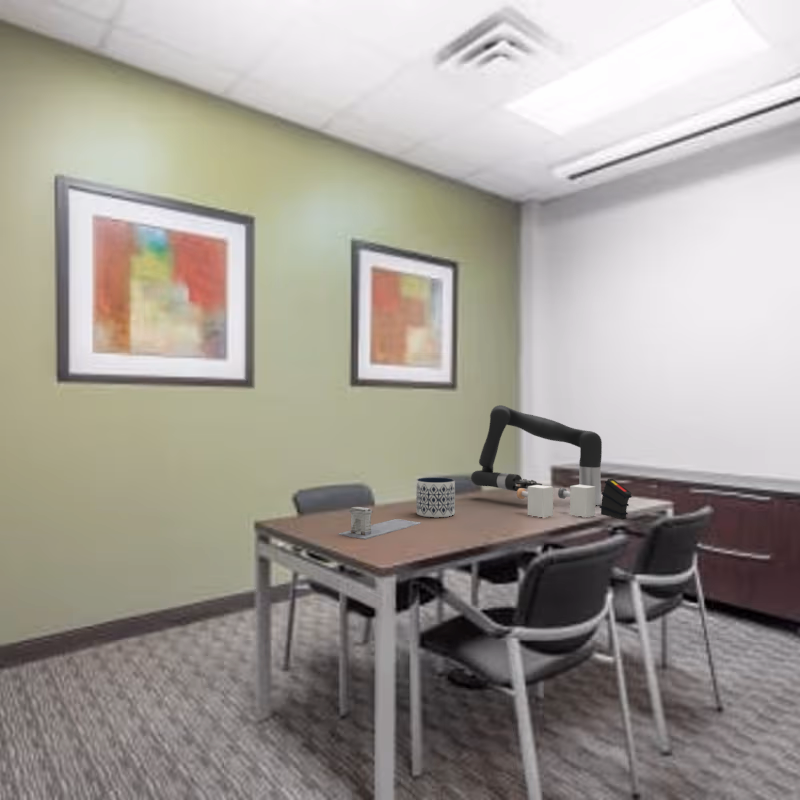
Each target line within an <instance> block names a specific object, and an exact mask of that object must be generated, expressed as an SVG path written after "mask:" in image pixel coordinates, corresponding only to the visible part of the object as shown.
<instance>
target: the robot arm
mask: <svg viewBox="0 0 800 800" xmlns="http://www.w3.org/2000/svg"><path fill="white" fill-rule="evenodd" d="M507 426H511V427H516V428H518V429H521V431H522V430H523V431H525V432H526V433H528V434H531V435H533V436H535V437H539V438H541V439H545V440H548V441H555V442H562V443H566V444H571V445H572V446H575V447H578V448H580V450H579V451H580V455H579V457H580V458H579V467H578V468H579V469H578V470H579V473H578V474H579V481H578V482H579V484H578V485H587V486H595V507H596V505H597V506H600V505H601V503H602V494H601V493H602V483H601V479H602V478H601V475H602V474H601V471H602V470H601V465H602V464H601V463H602V457H603V456H602V453H603V451H602V448H603V447H602V446H603V445H602V444H603V442H602V437H601V436H600V435H599V434H598V433H597V432H595V431H592V430H583V429H579V428H574V427H570V426H568V425H565V424H563V423H560V422H559V421H555V420H552V419H550V418H546V417H541V416H538V415H534V414H529V413H525V412H524V413H523V412H521V411H519V410H518V411H517V410H516V409H512V408H510V407H508V406H506V405H496V406H494V407H493V408H492V409H491V412H490V415H489V426H488V432H487V436H486V439H485V442H484V444H483V446H482V449H481V452H480V456H479V460H478V464H479V466H481V468H482V469H481V470H475V471H473V472H472V473H471V475H470V479H471V480H470V481H471V483H472V484H474V485H475V486H480V487H490V488H491V487H492V488H498V489H502V490H507V491H512V492H517V490H518V489H519V488H523V489H525V490H526V489H527V490H528V486H533V485H543V483H539V482H537V481H536V480H533V479H531V480H530V479H526V478H522V477H521V475H520V474H516V473H506V472H505V473H504V472H498V471H497V472H494V464H495V460H496V457H497V453H498V451H499V445H500V441H501V438H502V436H503V433H504V431H505V429H506V427H507Z"/></svg>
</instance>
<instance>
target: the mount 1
mask: <svg viewBox="0 0 800 800" xmlns="http://www.w3.org/2000/svg"><path fill="white" fill-rule="evenodd" d="M527 492H528V497H527V516H528V515H532V516H531V517H533V516H538V517H537V518H539V517H547V518H549V517H548V516H551V517H554V486H550V485H543V484H542V485H533V486H528V489H527Z"/></svg>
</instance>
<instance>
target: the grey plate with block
mask: <svg viewBox="0 0 800 800" xmlns="http://www.w3.org/2000/svg"><path fill="white" fill-rule="evenodd" d="M348 512H350V530H347V531H344V532H340V533H338V536H344V537H349V538H353V539H354V538H356V539H360V540H369V539H373V538H376V537H379V536H383V535H386V534H389V533H393V532H397V531H400V530H404V529H407V528H411V526H412V527H414V525H415V526H419V525H421V523H422V522H419V521H413V520H406V519H401V518H394V519H390V520H386V521H382V522H378V523H373V524H372V513H373V510H372V509H371V508H368V507H363V506H362V507H361V506H353V507H350V509H349V511H348ZM418 524H419V525H418Z"/></svg>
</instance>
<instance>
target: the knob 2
mask: <svg viewBox="0 0 800 800" xmlns="http://www.w3.org/2000/svg"><path fill="white" fill-rule="evenodd" d="M557 496H558V498H559V499H561V500H562V499H566V498H570V490H567V489H566V488H564V487H560V488H559V489H558V492H557Z"/></svg>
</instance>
